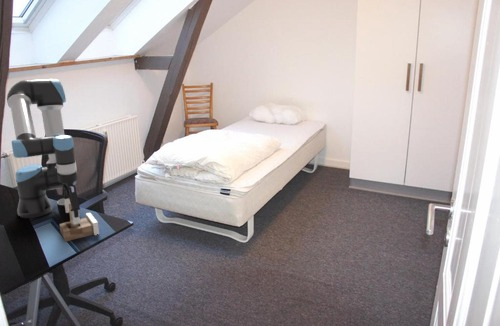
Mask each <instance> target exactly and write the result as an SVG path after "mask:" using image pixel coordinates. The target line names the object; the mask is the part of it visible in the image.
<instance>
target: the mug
mask: <svg viewBox="0 0 500 326" xmlns="http://www.w3.org/2000/svg"><path fill="white" fill-rule="evenodd" d="M56 206H57V211H58V216H59V218H60V220H61V223H65V222H70V213H69V212H68V213H66V210H65V203H64V198H60V199H58V200H57V201H56Z"/></svg>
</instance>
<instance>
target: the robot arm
mask: <svg viewBox="0 0 500 326" xmlns="http://www.w3.org/2000/svg"><path fill="white" fill-rule="evenodd" d="M66 102H67V98H66V93H65V90H64V88H63V84H62V82H61V81H60V80H59V79H56V78H54V79H53V78H44V79H23V80H19V81H18V82H16V83H15V84H13V86H11V88H10V89H9V90H8V92H7V95H6V103H7V105H8V107H9V108H10V110H11V111H10V112H11V116H12V117H11V118H12V123H13V129H14V134H15V139H14V140H11V148H12V153H13V155H12V156H13V157H14V158H16V159H18V158H19V159H21V158H29V157H30V158H32V157H39V156H46V155H47V156H48V159H47V161H46V166H42V164H39V163H35V164H34V163H33V164H28V165H24V166H23V167H20V168H18V169H17V170H16V171H15V183H16V186H17V192H18V198H19V199H18V200H19V201H18V204H17V209H16V211H17V212H16V213H17V216H18V217H19V216H20V218H22V219H34V218H39V217H42V216H43V217H44V216H45V215H47V214H49V213H51V212H52V211H53V208H52V207H53V206H52V203H51V202H50V199H49V198H48V196H47V192H46V191H51V190H57V189H61V190H62V191H61V192H62V193H61V194H62V197H63V198H64V203H65V210H66V213H68V212H69V204H70V203H71V207H72V209H71V211H72V217H73V224H78V223H80V219H81V217H80V211H81V207H80V202H79V197H78V193H77V188H76V184H77V181H78V179H79V178H78V171H77V170H78V169H77V161H76V155H75V143H74V139H73V136H72V135H69V134H68V135H67V134H65V129H64V123H63V122H64V121H63V117H62V108H63V107H64V103H66ZM32 105H36V108H37V109H38V110H39V111H40V112H41V116H42V123H43V129H44V135H45V137H43V136H42V137H36V131H35V126H34V121H33V116H32V111H31V106H32ZM63 198H62V199H63Z"/></svg>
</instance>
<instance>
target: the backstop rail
mask: <svg viewBox="0 0 500 326" xmlns="http://www.w3.org/2000/svg"><path fill="white" fill-rule="evenodd" d="M85 218H87V219H88V221H89V222H90V223H91V225H92V229H93V236H94V235H95V236H98V235H100V231H99V222H98V220H97V219H96V218H95V216H93V214H92V213H91V212H86V213H85ZM97 234H98V235H97Z"/></svg>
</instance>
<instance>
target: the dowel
mask: <svg viewBox="0 0 500 326" xmlns="http://www.w3.org/2000/svg"><path fill="white" fill-rule="evenodd" d="M71 209H72V207H71V203H70V204H69V213H70V222H71V228H74V227H78V224H73V217H72V211H71Z"/></svg>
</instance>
